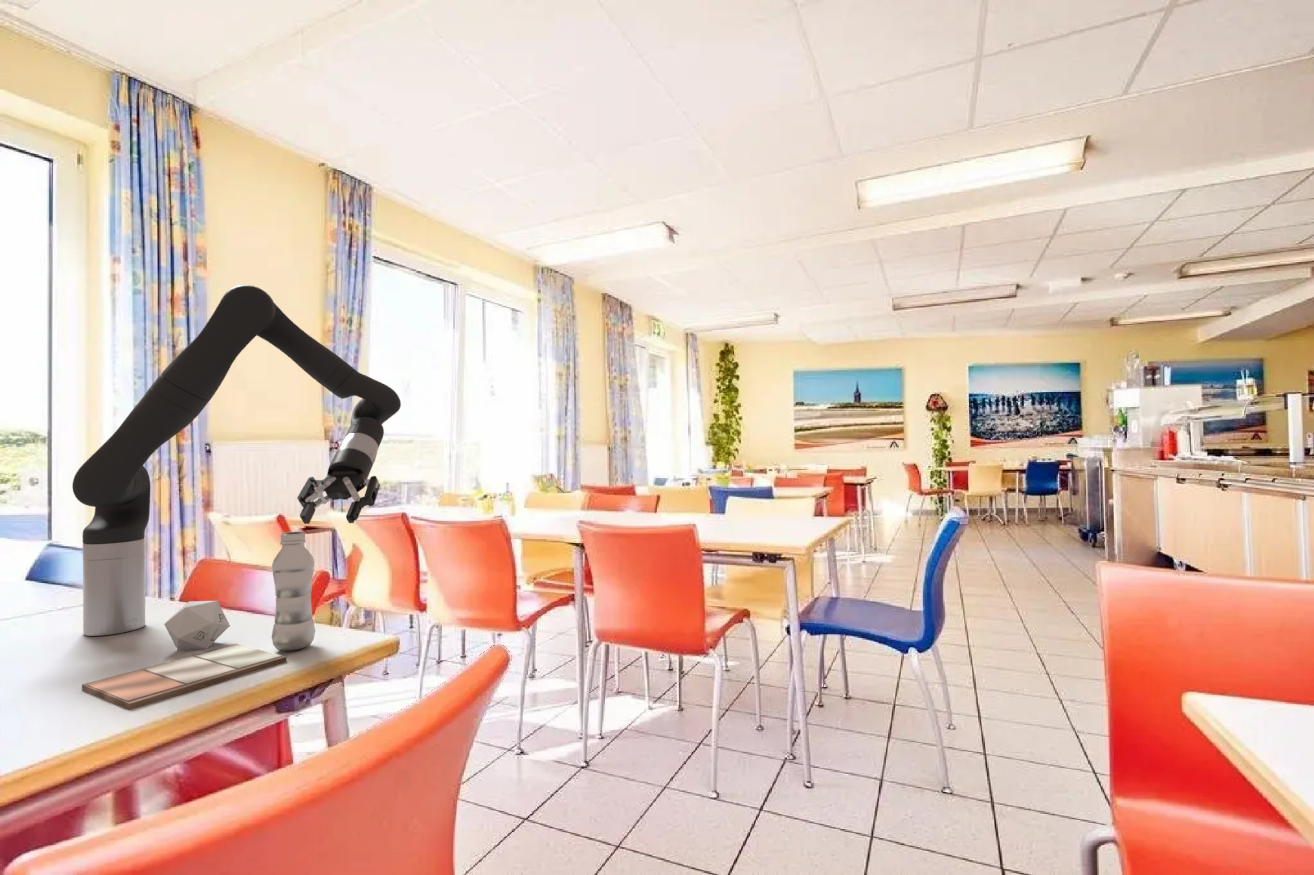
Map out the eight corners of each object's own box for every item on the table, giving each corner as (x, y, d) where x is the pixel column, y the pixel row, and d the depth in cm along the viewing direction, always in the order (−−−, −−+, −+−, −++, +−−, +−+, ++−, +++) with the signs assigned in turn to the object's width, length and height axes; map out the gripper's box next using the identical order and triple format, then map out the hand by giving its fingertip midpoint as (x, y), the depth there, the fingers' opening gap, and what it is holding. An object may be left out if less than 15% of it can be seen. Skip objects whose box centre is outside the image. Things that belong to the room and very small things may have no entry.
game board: (81, 689, 93) (81, 683, 93) (236, 648, 111) (236, 643, 111) (129, 709, 85) (129, 702, 85) (286, 661, 104) (286, 656, 104)
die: (179, 662, 106) (221, 610, 110) (142, 634, 108) (184, 584, 111) (210, 663, 114) (249, 615, 117) (175, 638, 116) (214, 591, 119)
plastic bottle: (298, 641, 115) (297, 529, 115) (324, 646, 112) (322, 531, 112) (263, 652, 109) (261, 534, 109) (288, 657, 106) (287, 536, 106)
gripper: (313, 447, 131) (281, 509, 119) (382, 446, 131) (357, 507, 119) (326, 472, 136) (297, 533, 125) (393, 471, 136) (370, 532, 125)
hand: (327, 521), depth 122 cm, fingers open, 8 cm apart
